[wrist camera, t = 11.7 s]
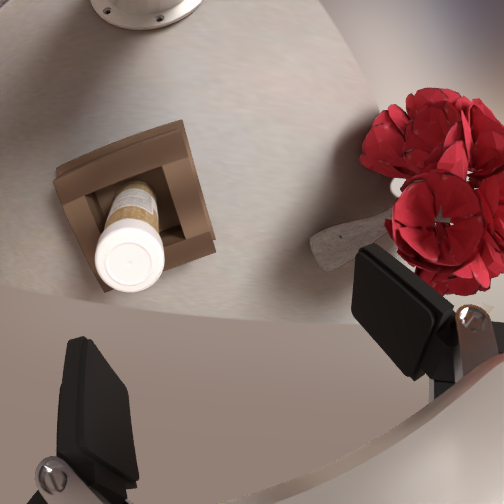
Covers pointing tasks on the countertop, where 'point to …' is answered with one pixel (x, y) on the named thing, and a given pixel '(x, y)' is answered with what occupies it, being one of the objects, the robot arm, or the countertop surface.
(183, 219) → the socket block
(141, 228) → the sprinkles bottle
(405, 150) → the bouquet
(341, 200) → the countertop surface
